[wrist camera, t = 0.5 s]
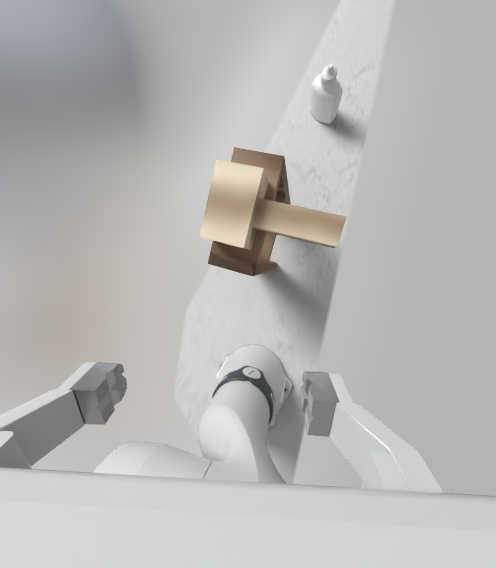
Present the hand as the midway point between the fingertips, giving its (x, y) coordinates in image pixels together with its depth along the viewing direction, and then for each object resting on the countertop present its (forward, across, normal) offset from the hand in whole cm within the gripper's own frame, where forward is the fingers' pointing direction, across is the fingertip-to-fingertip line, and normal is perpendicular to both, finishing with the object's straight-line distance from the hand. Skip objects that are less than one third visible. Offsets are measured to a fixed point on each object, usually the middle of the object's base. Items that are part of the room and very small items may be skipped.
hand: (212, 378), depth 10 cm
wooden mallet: (+19, +4, +5) cm, 21 cm away
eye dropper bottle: (+50, +15, +24) cm, 57 cm away
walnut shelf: (+45, +5, -1) cm, 45 cm away
